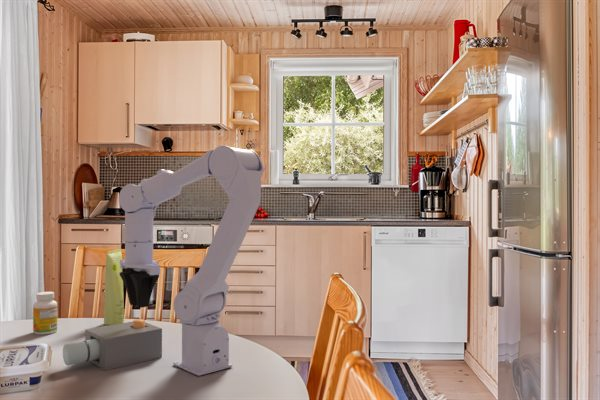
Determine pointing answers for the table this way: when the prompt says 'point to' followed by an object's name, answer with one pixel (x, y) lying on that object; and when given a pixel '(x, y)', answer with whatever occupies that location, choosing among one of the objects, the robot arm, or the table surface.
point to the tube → (113, 289)
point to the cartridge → (81, 351)
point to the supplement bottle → (45, 314)
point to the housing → (126, 344)
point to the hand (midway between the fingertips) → (139, 305)
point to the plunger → (138, 323)
